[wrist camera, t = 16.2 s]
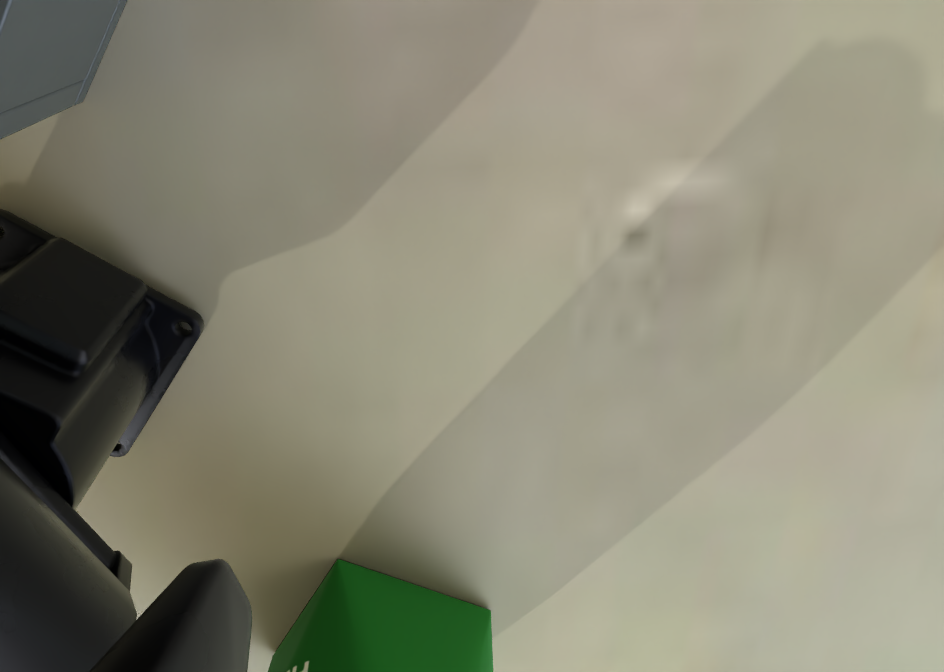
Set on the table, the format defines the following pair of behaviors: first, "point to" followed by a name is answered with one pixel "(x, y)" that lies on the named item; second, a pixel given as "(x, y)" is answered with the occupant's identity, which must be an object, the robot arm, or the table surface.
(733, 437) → the table surface
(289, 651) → the milk carton
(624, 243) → the table surface
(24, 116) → the open storage bin
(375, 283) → the table surface
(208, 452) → the table surface
